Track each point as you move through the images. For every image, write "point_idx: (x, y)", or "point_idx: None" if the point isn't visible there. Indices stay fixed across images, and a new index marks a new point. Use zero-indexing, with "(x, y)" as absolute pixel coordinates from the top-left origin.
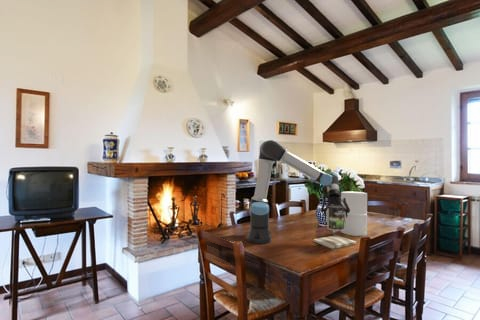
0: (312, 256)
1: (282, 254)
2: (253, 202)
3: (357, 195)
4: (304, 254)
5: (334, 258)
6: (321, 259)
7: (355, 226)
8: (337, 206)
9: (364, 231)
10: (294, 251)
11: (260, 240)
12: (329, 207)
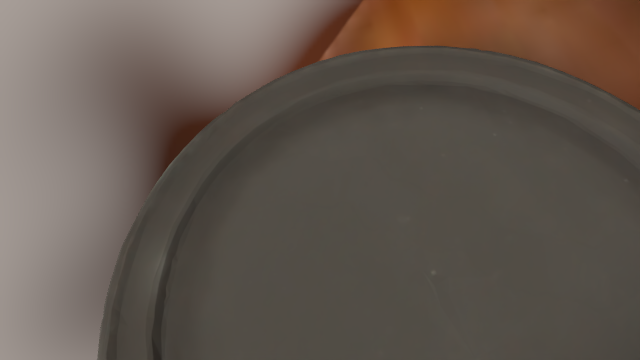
0: (461, 36)
1: (624, 2)
2: None
3: None
4: (515, 45)
5: (341, 54)
6: (404, 20)
7: None
8: (375, 337)
9: None
10: (594, 63)
11: None
12: (586, 92)
